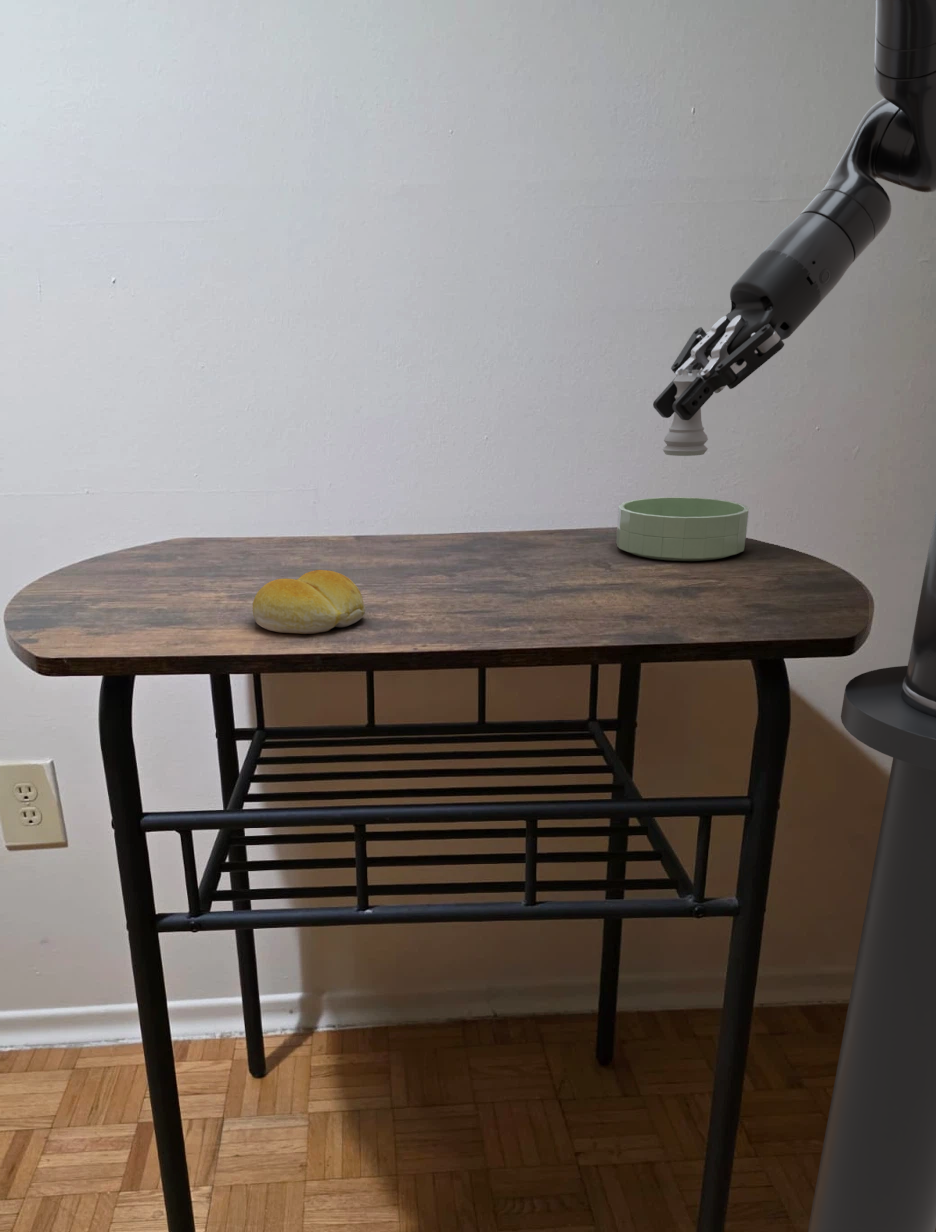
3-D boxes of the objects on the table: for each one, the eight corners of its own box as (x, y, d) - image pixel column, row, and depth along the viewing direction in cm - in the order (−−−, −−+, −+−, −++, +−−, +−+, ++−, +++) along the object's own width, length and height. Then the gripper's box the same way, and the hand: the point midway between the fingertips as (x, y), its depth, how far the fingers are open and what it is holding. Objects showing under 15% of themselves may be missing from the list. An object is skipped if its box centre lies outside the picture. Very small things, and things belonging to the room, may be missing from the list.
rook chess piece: (664, 456, 97) (670, 371, 94) (659, 451, 101) (665, 370, 98) (710, 455, 96) (718, 370, 93) (704, 451, 100) (710, 369, 97)
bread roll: (237, 621, 80) (233, 573, 79) (330, 603, 85) (328, 558, 84) (284, 643, 74) (280, 592, 73) (382, 623, 79) (380, 574, 77)
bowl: (769, 557, 98) (775, 512, 96) (653, 567, 95) (656, 521, 94) (702, 534, 110) (705, 494, 108) (596, 542, 107) (598, 501, 105)
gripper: (729, 254, 100) (614, 384, 101) (816, 239, 87) (682, 388, 89) (769, 309, 103) (657, 434, 104) (859, 302, 90) (729, 445, 92)
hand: (669, 412), depth 96 cm, fingers closed on rook chess piece, 3 cm apart
